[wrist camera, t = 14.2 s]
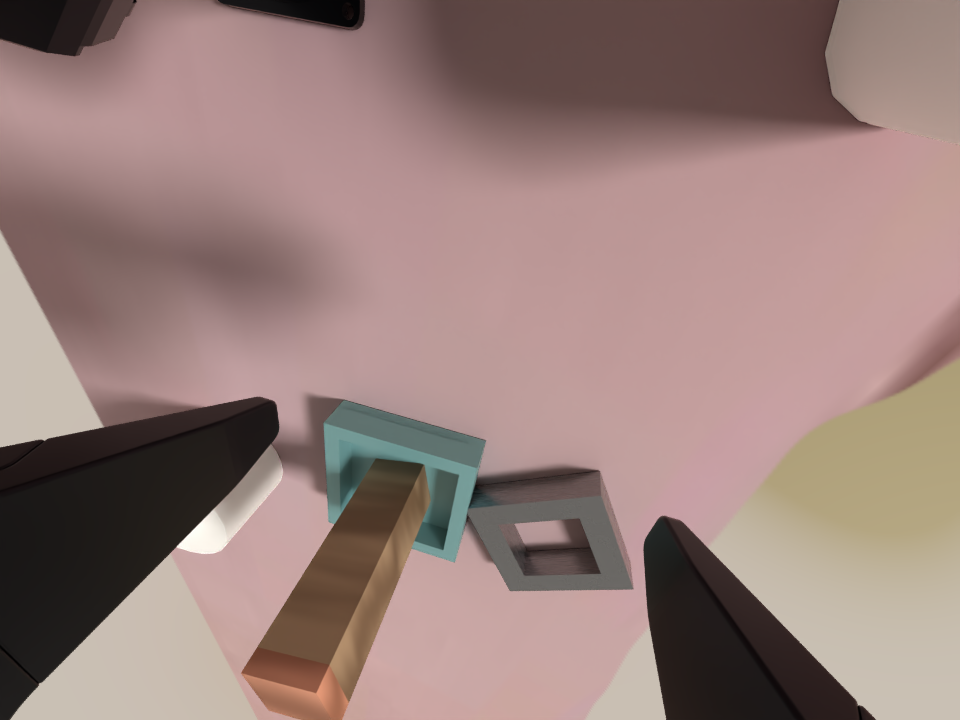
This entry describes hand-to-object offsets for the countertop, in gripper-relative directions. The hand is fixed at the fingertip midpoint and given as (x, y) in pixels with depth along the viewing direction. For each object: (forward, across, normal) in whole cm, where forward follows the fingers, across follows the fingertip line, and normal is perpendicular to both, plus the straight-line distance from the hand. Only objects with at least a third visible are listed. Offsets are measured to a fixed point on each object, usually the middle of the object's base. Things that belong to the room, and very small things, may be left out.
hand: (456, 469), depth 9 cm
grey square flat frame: (+13, +6, -17) cm, 22 cm away
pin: (+12, -5, -16) cm, 21 cm away
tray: (+13, -5, -16) cm, 21 cm away
